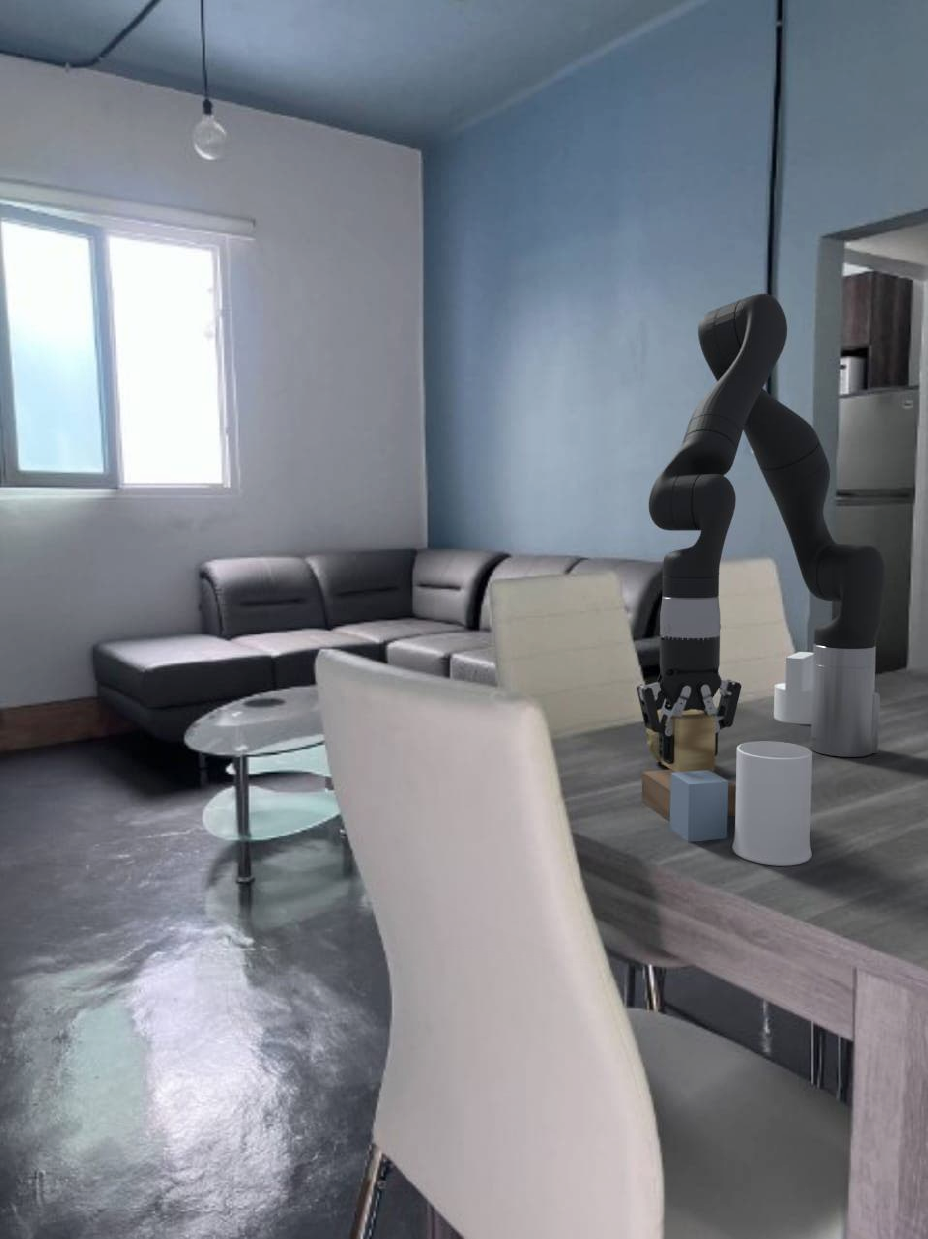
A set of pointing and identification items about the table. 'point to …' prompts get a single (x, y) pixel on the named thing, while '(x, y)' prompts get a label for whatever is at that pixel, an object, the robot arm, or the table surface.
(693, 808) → the slate block
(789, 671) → the base with upright slab
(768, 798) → the mug
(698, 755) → the oak block
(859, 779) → the table surface
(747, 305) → the robot arm
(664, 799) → the walnut slab
